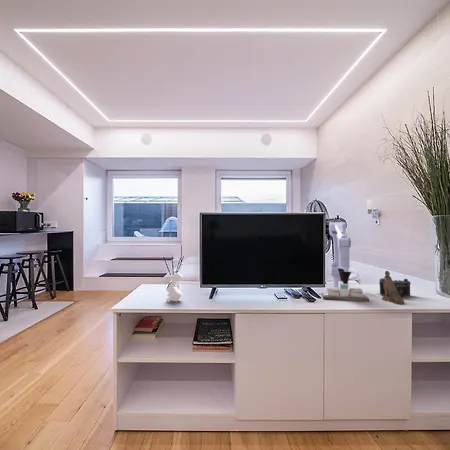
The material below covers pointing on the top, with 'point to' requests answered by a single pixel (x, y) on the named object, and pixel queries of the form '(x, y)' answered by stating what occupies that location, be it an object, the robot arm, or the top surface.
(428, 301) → the top surface
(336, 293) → the rail board
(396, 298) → the brown carved statuette
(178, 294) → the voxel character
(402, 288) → the camera
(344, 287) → the block
